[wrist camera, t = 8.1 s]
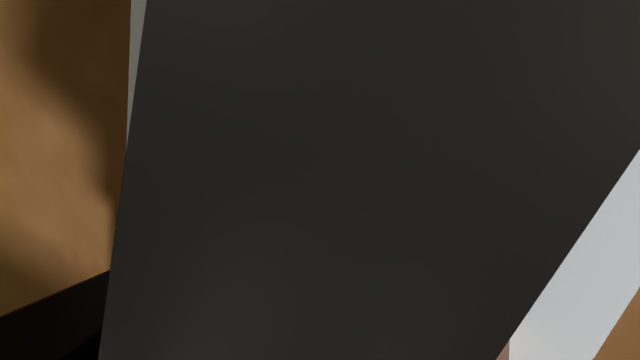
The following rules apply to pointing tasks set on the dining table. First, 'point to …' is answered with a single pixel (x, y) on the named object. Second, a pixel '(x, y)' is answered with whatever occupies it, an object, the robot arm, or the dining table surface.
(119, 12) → the dining table surface
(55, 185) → the dining table surface
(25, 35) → the dining table surface
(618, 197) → the display stand
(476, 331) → the frame bar
